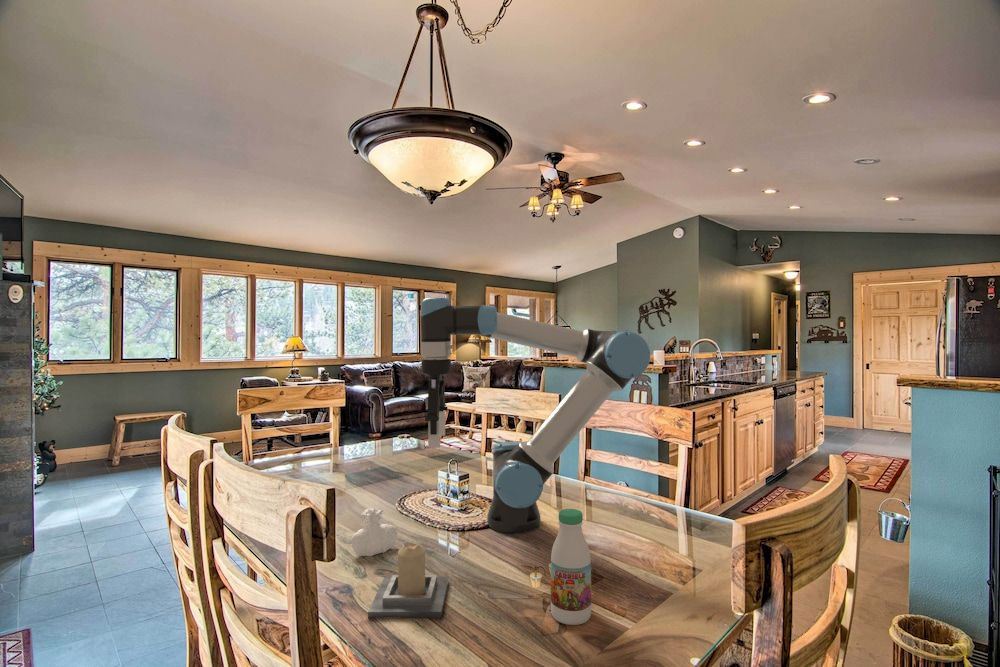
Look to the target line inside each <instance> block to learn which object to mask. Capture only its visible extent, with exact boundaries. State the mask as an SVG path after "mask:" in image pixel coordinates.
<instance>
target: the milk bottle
mask: <svg viewBox="0 0 1000 667" xmlns="http://www.w3.org/2000/svg"><path fill="white" fill-rule="evenodd" d="M583 516H584V515H583V512H582V511H581V510H579V509H576V508H564V509H560V510H559V512H558V524H559V530H558V533H557V535H556V538H555V540H554V542H553V545H552V548H551V555H550V613H551V615H552V617H553V619H554V620H555V621H557V622H558V623H561V624H563V625H568V626H579V625H582V624H585V623H587V622H588V621H589V620H590V618H591V615H592V562H591V561H592V560H591V551H590V548H589V545H588V543H587V540H586V538H585V536H584V532H583V529H582V525H583V524H584V523H583Z"/></svg>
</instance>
